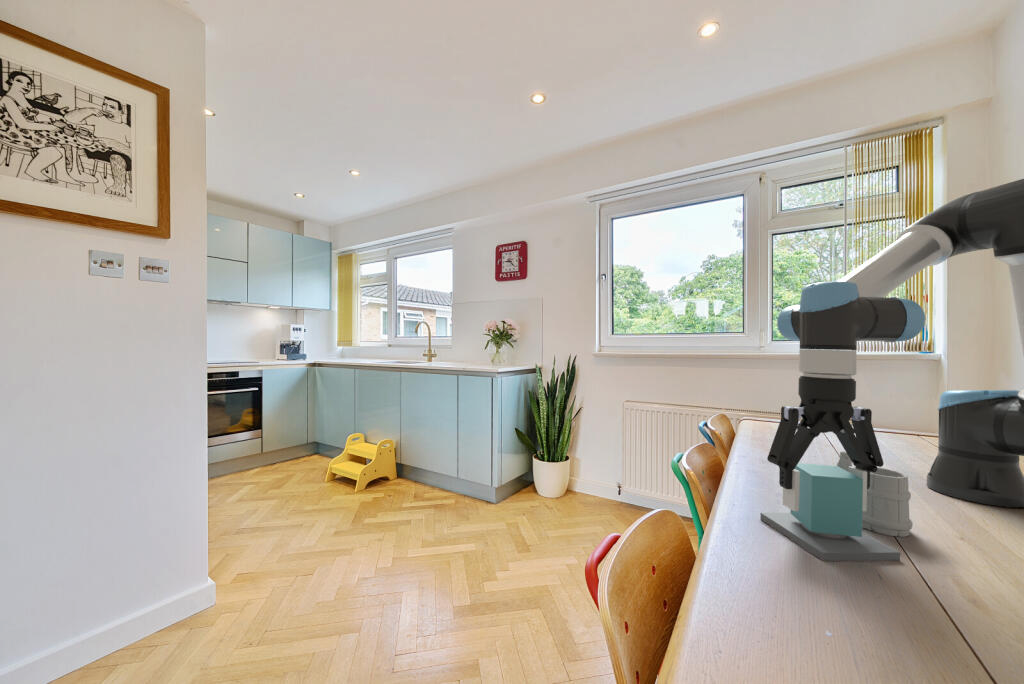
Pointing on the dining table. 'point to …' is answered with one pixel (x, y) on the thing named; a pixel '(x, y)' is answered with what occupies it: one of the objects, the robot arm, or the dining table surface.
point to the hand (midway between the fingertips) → (823, 507)
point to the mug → (885, 501)
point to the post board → (830, 541)
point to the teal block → (829, 500)
